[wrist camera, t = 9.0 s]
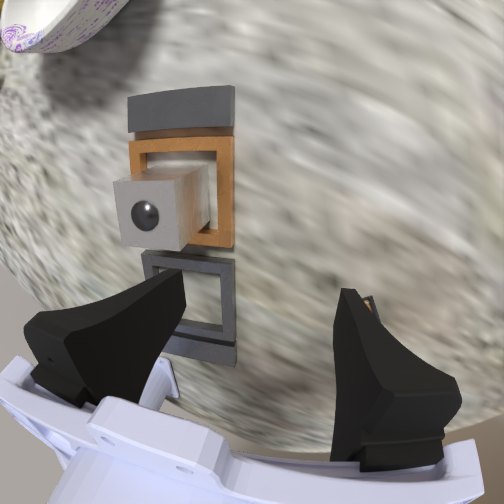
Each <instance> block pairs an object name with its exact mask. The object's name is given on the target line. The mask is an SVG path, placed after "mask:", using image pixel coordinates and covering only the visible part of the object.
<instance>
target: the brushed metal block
mask: <svg viewBox="0 0 504 504" xmlns="http://www.w3.org/2000/svg"><path fill="white" fill-rule="evenodd" d="M113 185H114V194H115V201H116V208H117V215H118V221H119V228H120V233H121V239H122V245H123V246H130V247H140V248H151V249H161V250H171V251H181V250H182V249H183V248H184V247H185V245H186V244H187V243H188V242H189V241H190V240H191V239H192V238H193V237H194V236H195V235H196V234H197V233H198V232H199V231H200V230H201V229H202V228H203V227H204V226H205V225H206V224H207V223H208V222H209V221H210V203H209V179H208V164H195V165H158V166H154V167H151V168H148V169H146V170H143V171H140V172H138V173H135V174H132V175H130V176H127V177H125V178H122V179H119V180H117V181H114V182H113Z"/></svg>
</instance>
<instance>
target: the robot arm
mask: <svg viewBox="0 0 504 504" xmlns="http://www.w3.org/2000/svg"><path fill="white" fill-rule="evenodd" d="M185 308H186V299H185V291H184V283H183V275H182V270H178V269H168V270H165V271H163V272H161V273H159V274H157V275H155V276H153V277H151V278H149V279H147V280H145V281H143V282H142V283H140V284H138V285H136V286H134V287H131V288H129V289H127V290H125V291H123V292H121V293H119V294H116V295H114V296H111V297H109V298H106V299H103V300H100V301H97V302H94V303H90V304H86V305H83V306H79V307H74V308H69V309H63V310H54V311H43V312H39V313H37V314H36V315H35V316H34V317H33V318H32V319H31V320H30V321H29V322H28V323H27V324H25V326H24V336H25V339H26V341H27V343H28V345H29V347H30V349H31V350H32V352H33V354H34V356H35V358H36V359H37V361H38V363H39V364H38V365H37V366H36V367H34V366H33V364H32V363H30V362H29V361H27V360H26V359H24V358H23V357H21V356H19V355H17V356H16V357H15V358H14V359H13V360H12V361H11V363H9V364H8V366H7V367H6V368H5V369H4V370H3V371H2V372H1V373H0V402H1V403H2V405H3V406H4V407H5V408H6V410H7V411H8V412H9V413H10V414H11V415H12V416H13V418H14V419H15V420H16V421H17V422H19V423H20V424H21V425H22V426H23V427H25V428H26V429H27V430H29V431H30V432H31V433H32V434H33V435H35V436H36V437H37V438H39V439H40V440H41V441H42V442H44V443H45V444H46V445H48V446H49V447H50V448H52V449H53V450H54V451H55V453H56V455H57V457H58V459H59V462H60V463H61V466H62V468H63V470H64V474H63V475H62V477H61V479H60V481H59V483H58V484H57V486H56V487H55V489H54V491H53V493H52V495H51V496H50V498H49V500H48V502H47V503H46V504H467V503H469V502H471V501H473V500H474V499H476V498H478V497H480V496H481V495H483V493H484V487H483V480H482V474H481V469H480V463H479V459H478V454H477V449H476V445H475V441H474V439H468V440H464V441H459V442H454V443H450V444H448V445H446V446H444V447H442V441H441V440H443V438H444V437H445V433H444V427H445V426H446V425H447V424H448V423H449V422H450V420H451V419H452V418H453V417H454V416H455V415H456V413H457V412H458V410H459V409H460V407H461V404H462V397H461V394H460V391H459V388H458V385H457V382H456V380H455V378H454V377H452V376H450V375H448V374H446V373H444V372H442V371H440V370H438V369H436V368H434V367H433V366H431V365H430V364H428V363H426V362H425V361H423V360H422V359H420V358H419V357H417V356H416V355H415V354H413V353H412V352H411V351H410V350H408V349H407V348H406V347H405V346H403V345H402V344H401V343H400V342H399V341H398V340H397V339H396V338H395V337H394V336H392V335H391V334H390V332H389V331H388V330H387V329H386V328H385V327H384V326H383V325H382V324H381V323H380V321H379V320H378V319H377V318H376V317H375V315H374V314H373V313H372V312H371V310H370V309H369V308H368V306H367V305H366V304H365V302H364V301H363V299H362V298H361V297H360V295H359V294H358V292H357V291H356V290H355V289H348V288H341V293H340V298H339V302H338V307H337V311H336V316H335V320H334V325H333V350H334V361H335V373H336V390H337V394H336V411H335V423H334V433H333V441H332V449H331V456H330V461H309V460H295V459H286V458H277V457H269V456H262V455H255V454H249V453H244V452H238V451H233V450H230V446H229V444H228V443H227V442H226V440H225V439H224V437H223V436H222V435H221V434H220V433H218V432H216V431H215V430H213V429H211V428H210V427H207V426H205V425H202V424H199V423H197V422H194V421H191V420H187V419H184V418H180V417H176V416H173V415H169V414H166V413H163V412H160V411H159V409H160V407H161V405H162V403H163V401H164V399H165V397H166V395H167V396H171V397H174V398H178V397H179V393H178V389H177V386H176V382H175V379H174V375H173V372H172V368H171V364H170V361H169V360H168V359H166V358H162V357H159V355H160V353H161V352H162V350H163V349H164V347H165V345H166V344H167V342H168V340H169V339H170V337H171V336H172V334H173V332H174V331H175V329H176V327H177V326H178V324H179V322H180V320H181V318H182V316H183V313H184V311H185Z"/></svg>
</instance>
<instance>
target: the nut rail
mask: <svg viewBox="0 0 504 504" xmlns="http://www.w3.org/2000/svg"><path fill="white" fill-rule="evenodd" d="M220 126H234V86H231V85H227V86H210V87H197V88H187V89H178V90H169V91H162V92H155V93H149V94H143V95H137V96H131V97H128V133H131V132H140V131H150V130H161V129H174V128H190V127H220ZM167 151H217V200H218V230H213V229H201V230H200V231H199V232H198V233H197V234H196V235H195V236H194V237H193V238H192V239H191V240H190V241H189V242H188V243H187V244H197V245H207V246H217V247H227V248H231V247H232V246H233V244H234V136H198V137H175V138H159V139H146V140H135V141H130V142H129V155H130V169H131V175H132V174H135V173H138V172H140V171H143V170H146V169H147V163H146V153H148V152H167ZM141 258H142V264H143V269H144V275H145V280H147V279H149V278H151V277H153V276H155V275H157V274H159V272H158V266H161V267H168V268H175V269H183V270H191V271H199V272H207V273H215V274H220V283H221V303H222V321H223V326H221V325H215V324H209V323H203V322H198V321H192V320H187V319H181V320H180V322H179V324H178V326H177V327H176V329H175V331H174V332H173V334H172V336H171V337H170V339H169V340H168V342H167V344H166V345H165V347H164V349H163V350H162V352H166V353H170V354H174V355H178V356H183V357H187V358H192V359H196V360H201V361H206V362H211V363H216V364H221V365H227V366H233V367H235V364H236V361H237V349H236V340H235V337H236V309H235V259H228V258H218V257H209V256H200V255H191V254H182V253H173V252H164V251H155V250H145V251H144V252H143V253H142V254H141Z"/></svg>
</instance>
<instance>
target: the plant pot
mask: <svg viewBox="0 0 504 504" xmlns="http://www.w3.org/2000/svg"><path fill="white" fill-rule="evenodd" d="M4 1H5V0H0V14H1V13H2V8H3V4H4Z"/></svg>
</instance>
